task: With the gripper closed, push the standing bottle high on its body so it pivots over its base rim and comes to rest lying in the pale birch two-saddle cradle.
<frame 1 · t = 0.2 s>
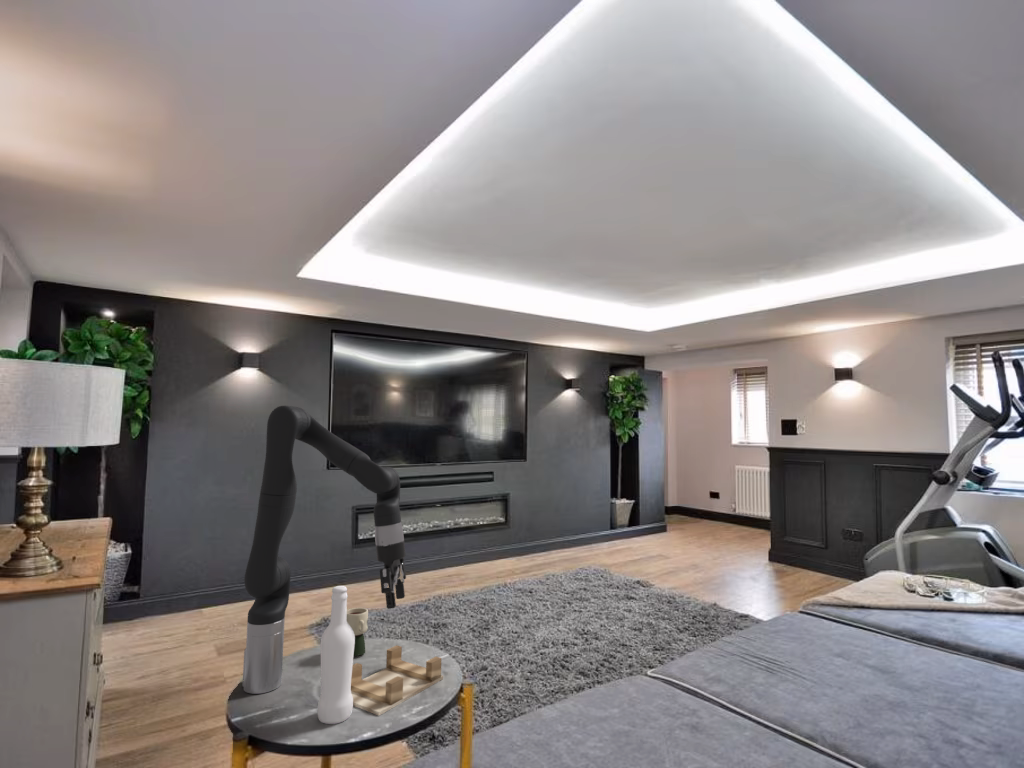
hand: (396, 603, 143), 23 cm above the table, tool pointing down, fingers open, 8 cm apart
bottle cradle: (389, 687, 143), on the table
bottle: (334, 717, 128), on the table
character mug: (354, 655, 164), on the table
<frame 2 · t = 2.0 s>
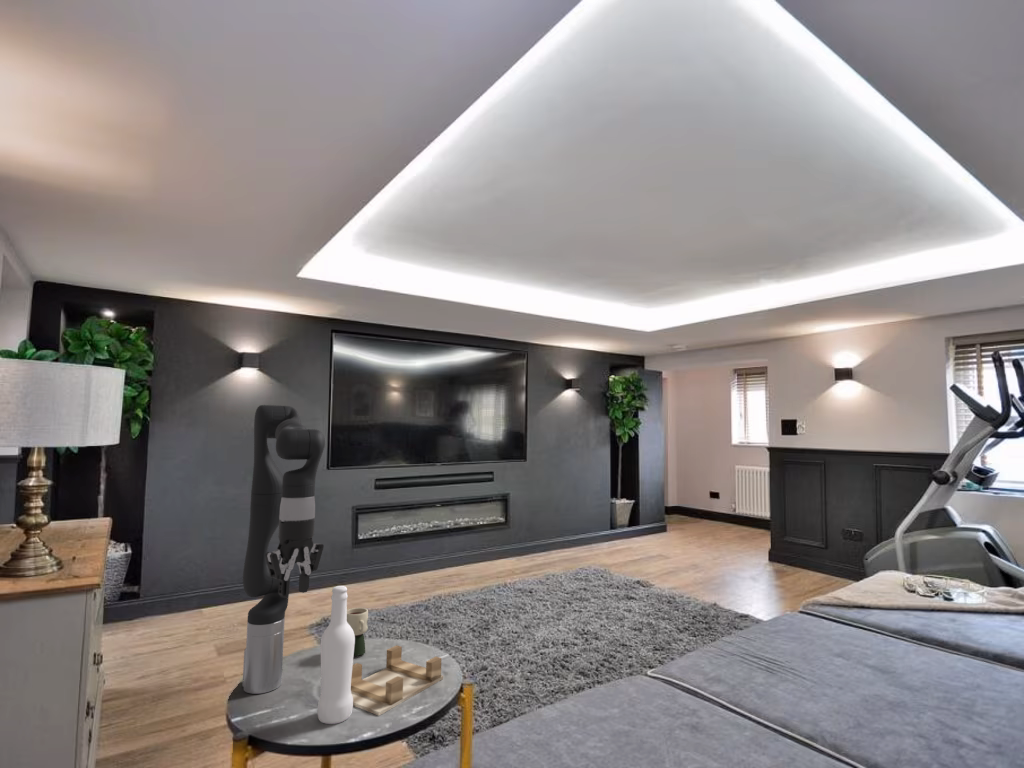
hand: (293, 594, 120), 31 cm above the table, tool pointing down, fingers open, 4 cm apart
nothing on the table moved.
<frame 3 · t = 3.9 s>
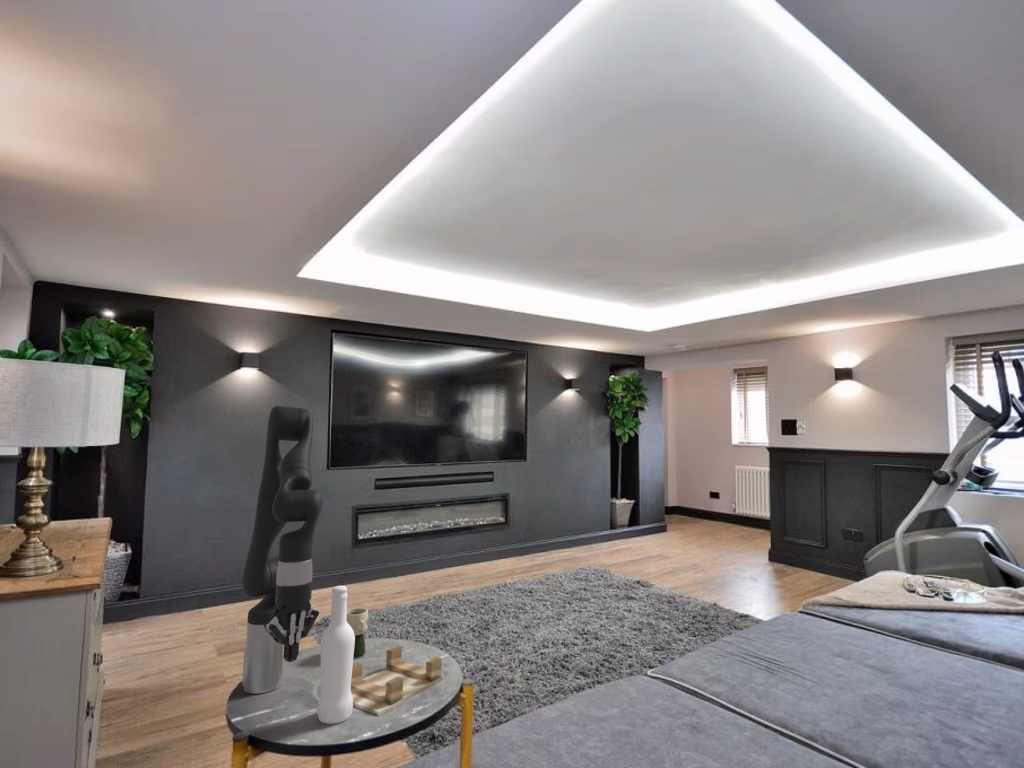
hand: (290, 660, 119), 17 cm above the table, tool pointing down, fingers closed
nothing on the table moved.
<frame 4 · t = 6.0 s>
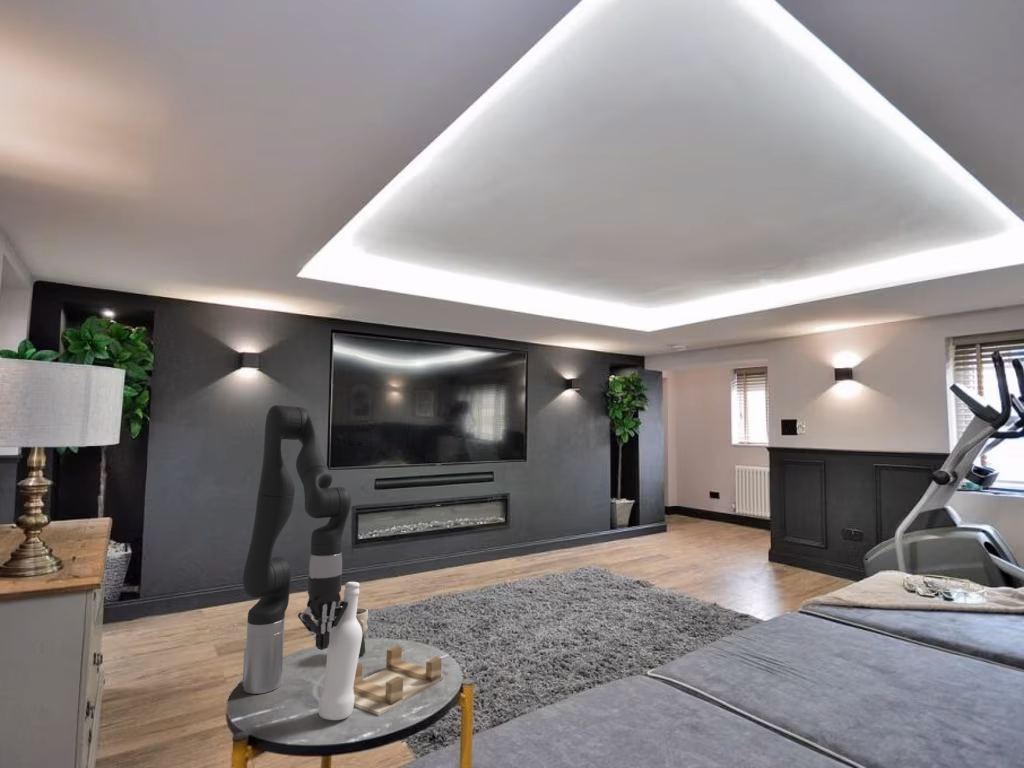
hand: (322, 648, 126), 17 cm above the table, tool pointing down, fingers closed
bottle: (335, 715, 128), on the table, touching hand
everything else where it was.
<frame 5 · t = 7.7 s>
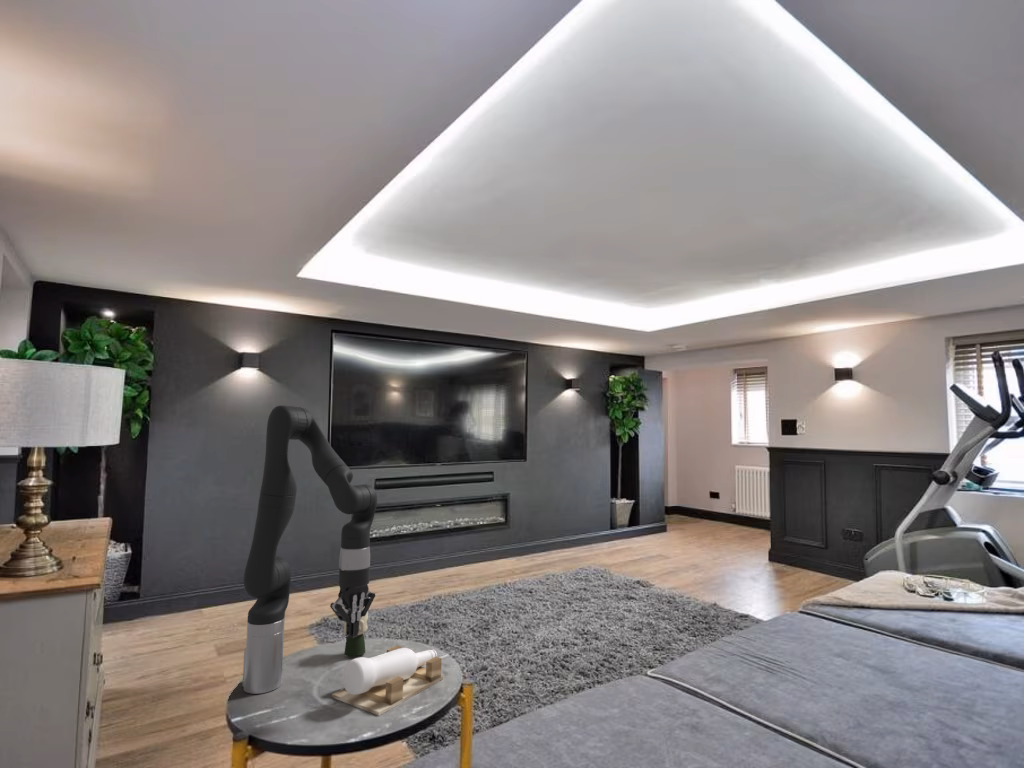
hand: (352, 636, 133), 17 cm above the table, tool pointing down, fingers closed
bottle: (350, 677, 132), point 7 cm above the table, touching bottle cradle
everything else where it was.
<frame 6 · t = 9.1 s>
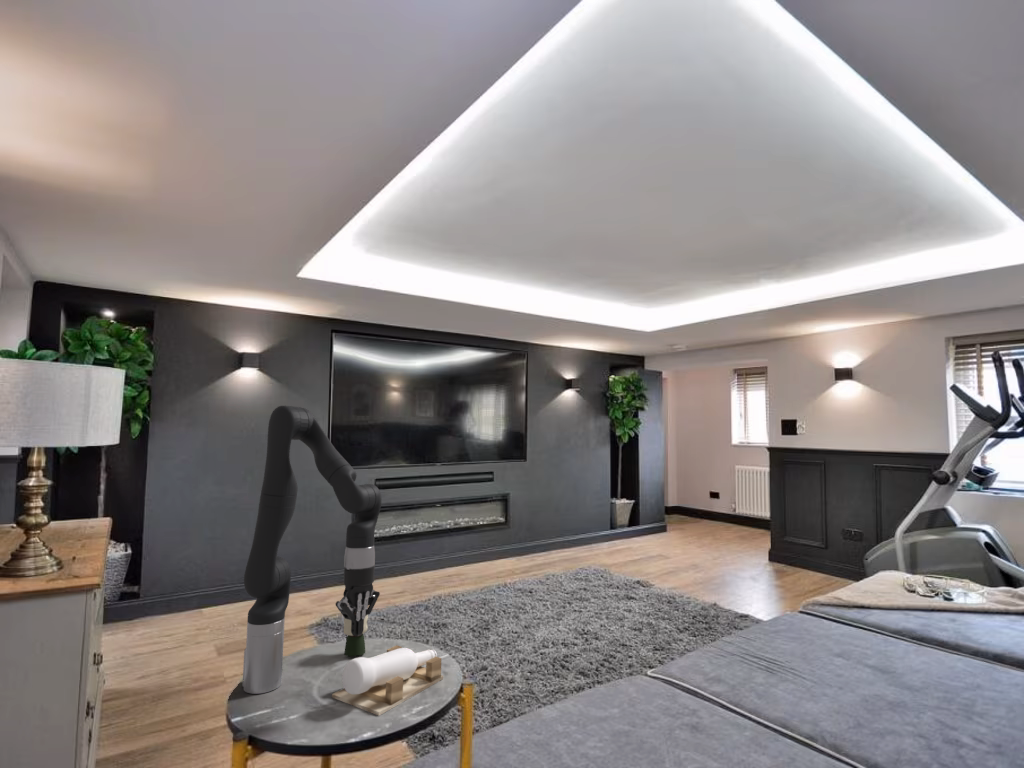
hand: (357, 634, 134), 17 cm above the table, tool pointing down, fingers closed
nothing on the table moved.
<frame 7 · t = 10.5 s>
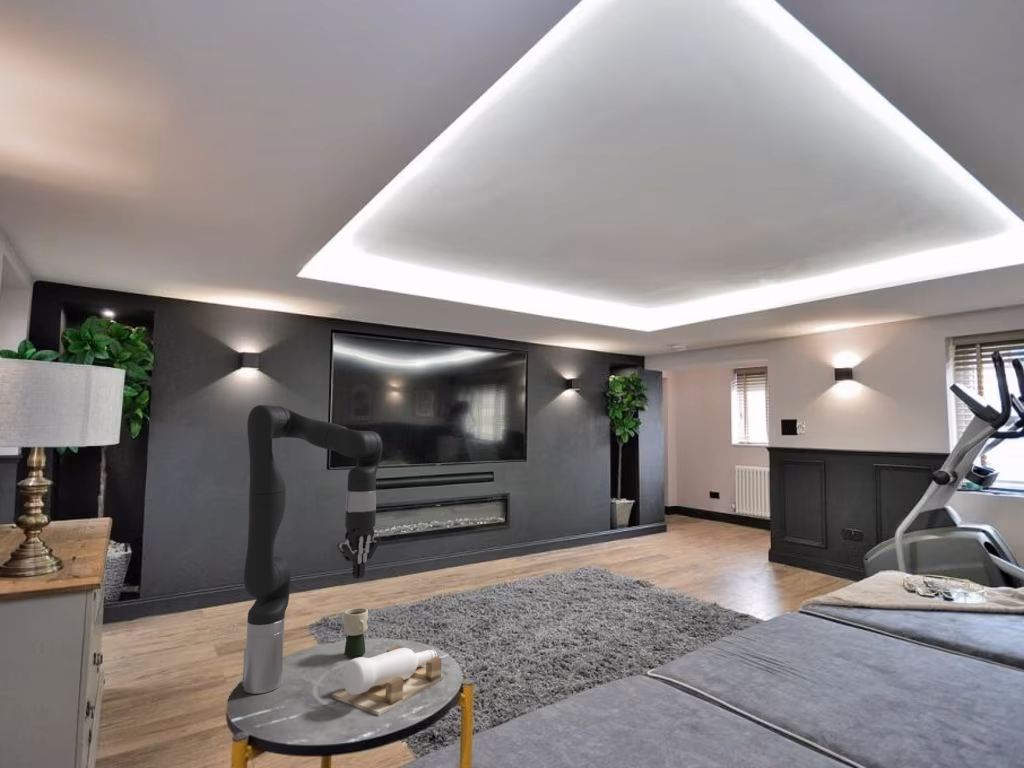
hand: (358, 577, 136), 31 cm above the table, tool pointing down, fingers closed
nothing on the table moved.
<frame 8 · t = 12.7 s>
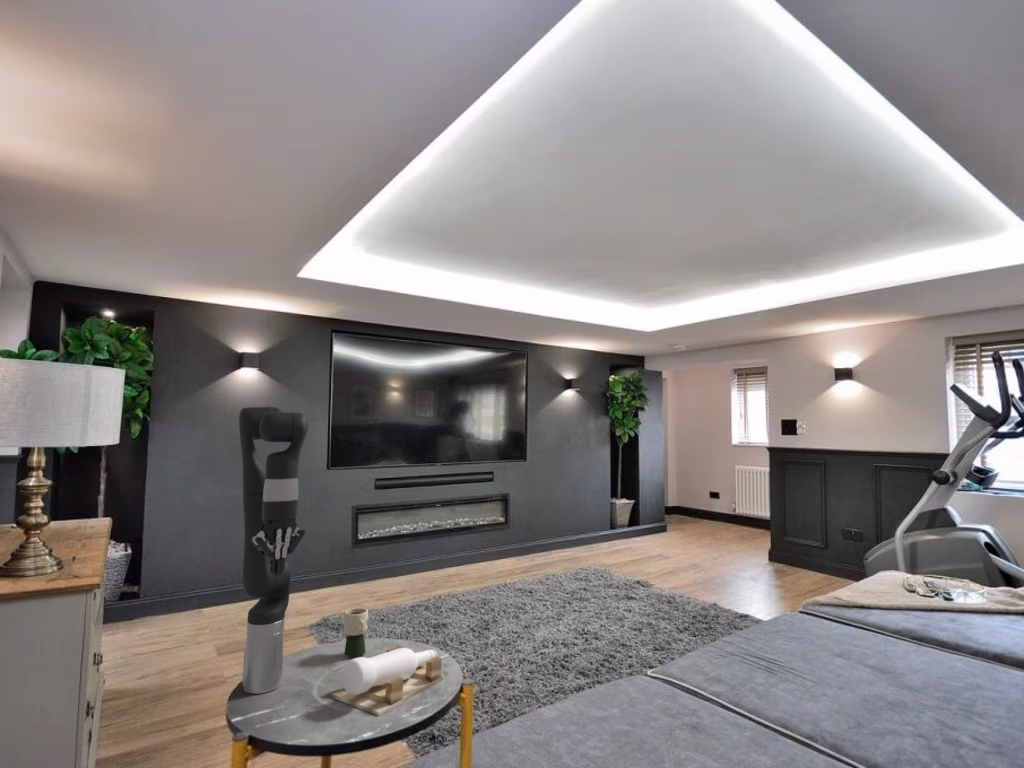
hand: (276, 574, 122), 35 cm above the table, tool pointing down, fingers closed
nothing on the table moved.
at the end: bottle tilted 97°; bottle touching bottle cradle; bottle inside the target area (0.2 cm from its centre), point 7.2 cm above the table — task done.
